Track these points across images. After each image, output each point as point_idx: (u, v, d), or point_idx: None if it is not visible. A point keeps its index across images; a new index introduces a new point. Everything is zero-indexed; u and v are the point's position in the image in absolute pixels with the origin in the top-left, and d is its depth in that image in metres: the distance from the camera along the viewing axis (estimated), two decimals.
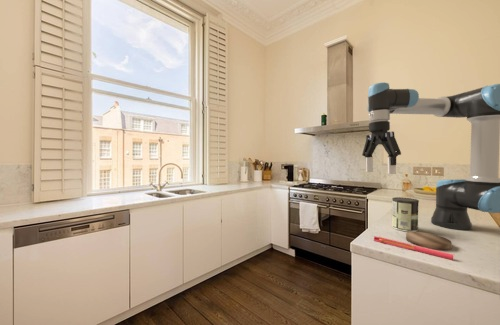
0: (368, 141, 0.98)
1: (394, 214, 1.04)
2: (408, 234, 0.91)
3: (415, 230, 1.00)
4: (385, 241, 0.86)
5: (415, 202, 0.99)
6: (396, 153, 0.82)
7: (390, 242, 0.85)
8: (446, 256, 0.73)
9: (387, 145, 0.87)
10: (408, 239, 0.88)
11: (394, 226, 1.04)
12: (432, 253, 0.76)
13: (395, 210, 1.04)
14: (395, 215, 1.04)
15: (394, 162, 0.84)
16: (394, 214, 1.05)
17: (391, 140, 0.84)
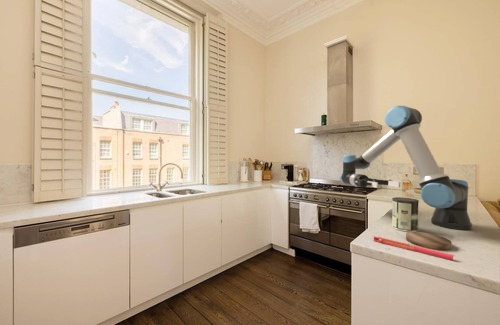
0: None
1: (394, 214, 1.04)
2: (408, 234, 0.91)
3: (415, 230, 1.00)
4: (385, 241, 0.86)
5: (415, 202, 0.99)
6: (360, 184, 1.19)
7: (390, 242, 0.85)
8: (446, 256, 0.73)
9: None
10: (408, 239, 0.88)
11: (394, 226, 1.04)
12: (432, 253, 0.76)
13: (395, 210, 1.04)
14: (395, 215, 1.04)
15: (368, 184, 1.16)
16: (394, 214, 1.05)
17: (358, 182, 1.24)
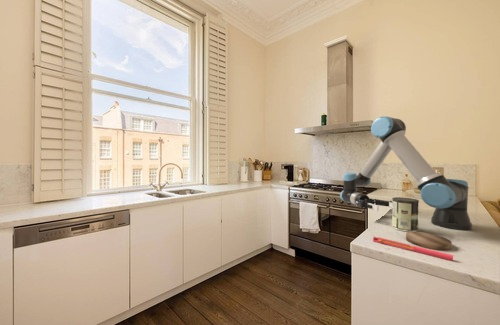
0: None
1: (394, 214, 1.04)
2: (408, 234, 0.91)
3: (415, 230, 1.00)
4: (384, 241, 0.85)
5: (415, 202, 0.99)
6: (361, 206, 1.19)
7: (389, 242, 0.84)
8: (446, 257, 0.73)
9: None
10: (408, 239, 0.88)
11: (394, 226, 1.04)
12: (432, 254, 0.75)
13: (395, 210, 1.04)
14: (395, 215, 1.04)
15: (368, 206, 1.16)
16: (394, 214, 1.05)
17: (358, 203, 1.24)
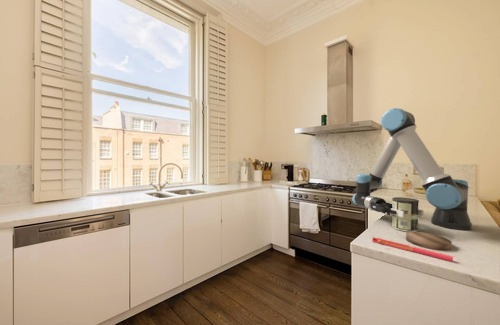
0: None
1: None
2: (408, 234, 0.91)
3: (415, 230, 1.00)
4: (384, 242, 0.85)
5: (415, 202, 0.99)
6: (383, 211, 1.06)
7: (389, 243, 0.84)
8: (445, 258, 0.72)
9: None
10: (408, 239, 0.88)
11: (394, 226, 1.04)
12: (431, 255, 0.75)
13: None
14: (395, 215, 1.04)
15: (392, 212, 1.03)
16: None
17: (377, 208, 1.12)
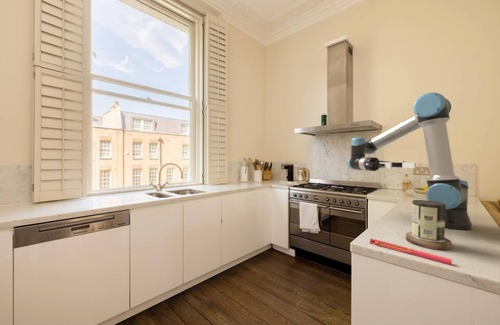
0: None
1: (415, 220, 0.87)
2: (408, 234, 0.91)
3: (442, 240, 0.82)
4: (381, 244, 0.83)
5: (442, 206, 0.82)
6: (372, 165, 1.09)
7: (386, 245, 0.82)
8: (444, 261, 0.70)
9: None
10: (408, 239, 0.88)
11: (415, 235, 0.87)
12: (429, 257, 0.73)
13: (416, 215, 0.86)
14: (417, 221, 0.86)
15: (380, 165, 1.06)
16: (414, 220, 0.87)
17: (368, 165, 1.14)
